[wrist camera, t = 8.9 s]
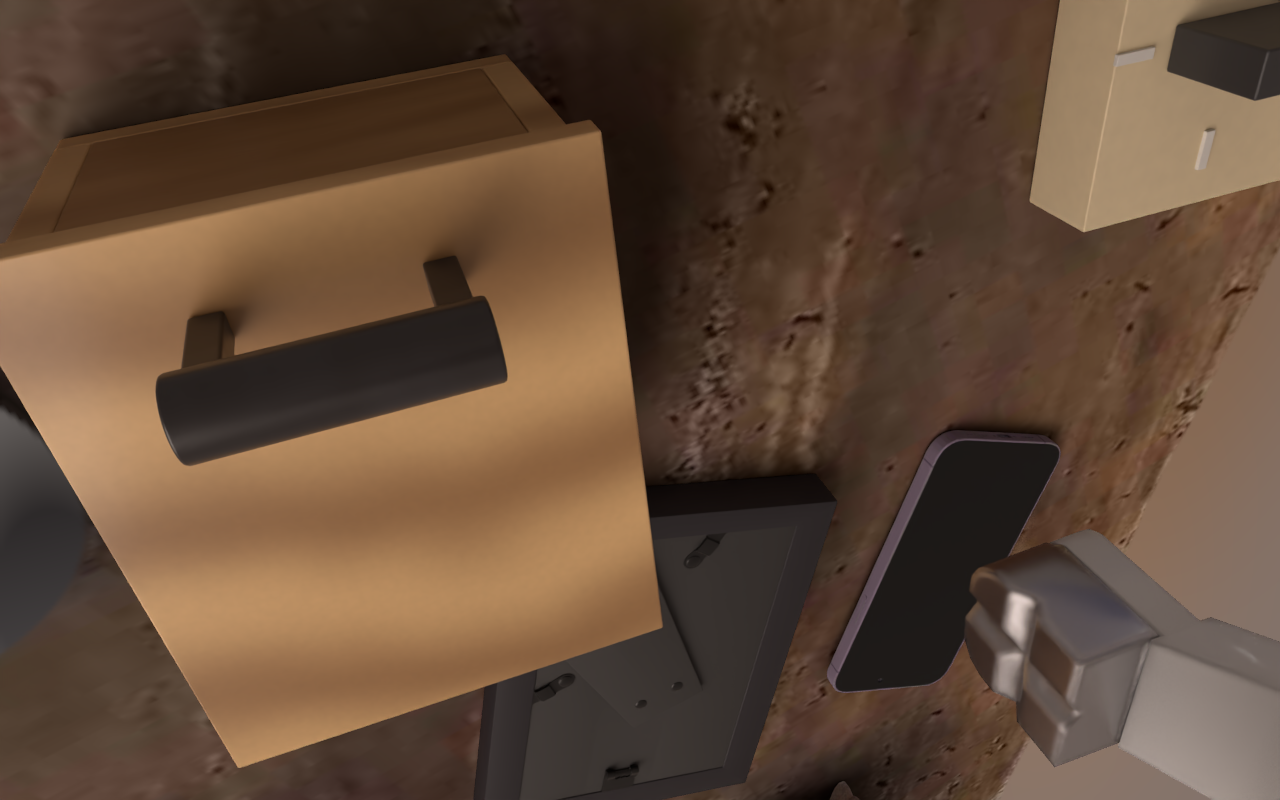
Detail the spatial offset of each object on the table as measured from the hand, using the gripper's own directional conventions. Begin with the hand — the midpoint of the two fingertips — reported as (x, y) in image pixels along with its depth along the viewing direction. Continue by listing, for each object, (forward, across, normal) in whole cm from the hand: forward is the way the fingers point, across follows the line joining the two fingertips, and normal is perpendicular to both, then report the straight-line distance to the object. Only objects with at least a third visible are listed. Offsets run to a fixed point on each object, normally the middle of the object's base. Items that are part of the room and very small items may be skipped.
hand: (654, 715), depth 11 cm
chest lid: (+12, +3, +5) cm, 13 cm away
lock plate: (+21, -26, +1) cm, 34 cm away
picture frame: (+21, -4, +24) cm, 32 cm away
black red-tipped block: (+18, -26, +1) cm, 32 cm away
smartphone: (+21, -19, +25) cm, 38 cm away
